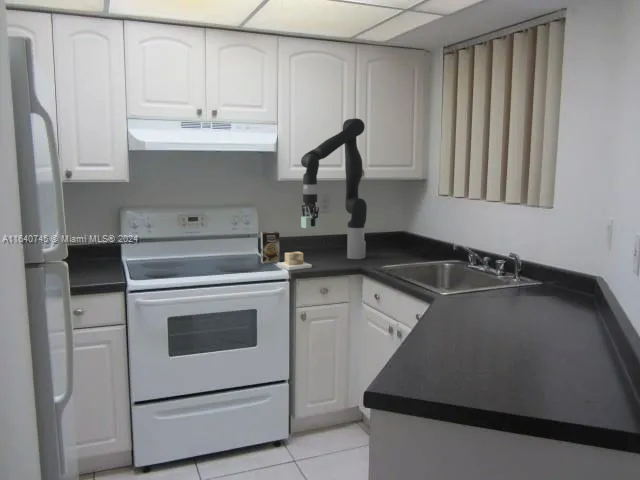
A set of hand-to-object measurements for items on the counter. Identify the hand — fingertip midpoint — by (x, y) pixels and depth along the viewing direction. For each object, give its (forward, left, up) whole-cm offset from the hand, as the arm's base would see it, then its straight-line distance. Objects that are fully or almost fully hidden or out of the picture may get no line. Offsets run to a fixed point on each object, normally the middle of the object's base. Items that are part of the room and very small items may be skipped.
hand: (310, 225), depth 277 cm
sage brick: (0, 0, -1) cm, 1 cm away
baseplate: (+13, +5, -20) cm, 24 cm away
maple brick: (+13, +5, -18) cm, 23 cm away
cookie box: (+18, -11, -20) cm, 29 cm away
